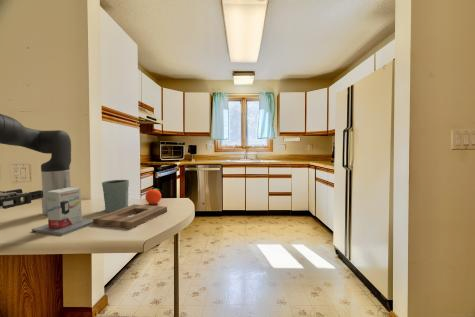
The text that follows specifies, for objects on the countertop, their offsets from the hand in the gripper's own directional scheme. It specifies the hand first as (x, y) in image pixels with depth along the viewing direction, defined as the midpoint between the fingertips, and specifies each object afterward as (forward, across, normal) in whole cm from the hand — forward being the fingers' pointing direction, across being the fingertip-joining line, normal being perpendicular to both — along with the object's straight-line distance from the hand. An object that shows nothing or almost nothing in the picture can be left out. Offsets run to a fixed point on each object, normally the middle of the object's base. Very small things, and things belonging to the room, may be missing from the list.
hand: (31, 193), depth 70 cm
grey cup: (+32, +1, +14) cm, 35 cm away
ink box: (+10, +1, +13) cm, 17 cm away
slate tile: (+10, +1, +14) cm, 17 cm away
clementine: (+44, -9, +15) cm, 47 cm away
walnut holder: (+24, -14, +14) cm, 31 cm away
